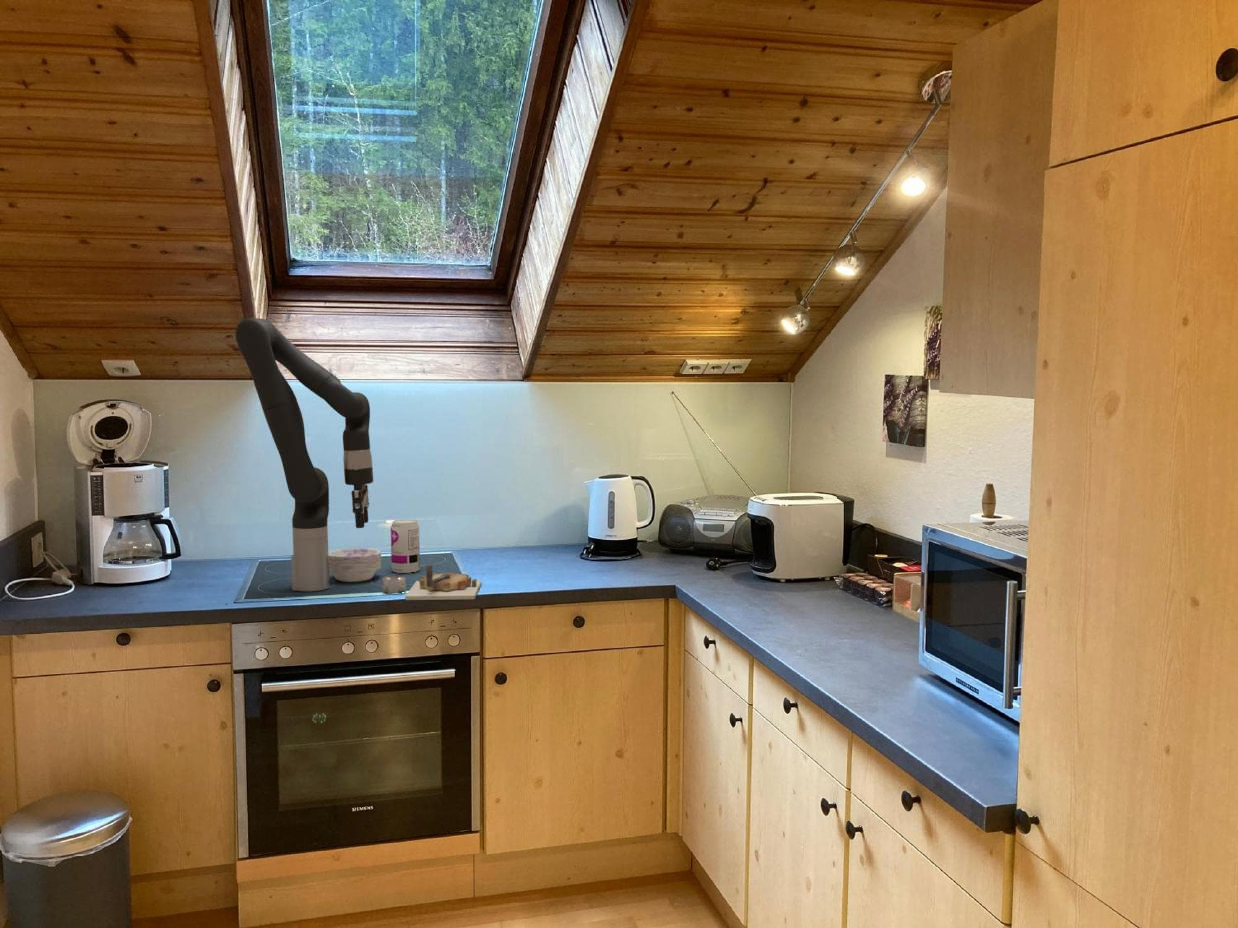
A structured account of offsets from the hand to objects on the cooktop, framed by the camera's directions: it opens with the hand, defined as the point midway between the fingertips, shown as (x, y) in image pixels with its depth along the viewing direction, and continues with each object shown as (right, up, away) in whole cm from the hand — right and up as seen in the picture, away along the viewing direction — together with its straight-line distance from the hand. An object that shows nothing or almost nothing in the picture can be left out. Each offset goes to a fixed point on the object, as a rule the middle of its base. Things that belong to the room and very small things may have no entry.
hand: (362, 525), depth 280 cm
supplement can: (+7, -15, +25) cm, 30 cm away
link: (+9, -18, -3) cm, 20 cm away
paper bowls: (-6, -17, +14) cm, 23 cm away
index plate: (+23, -18, -2) cm, 29 cm away
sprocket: (+23, -16, -2) cm, 28 cm away
